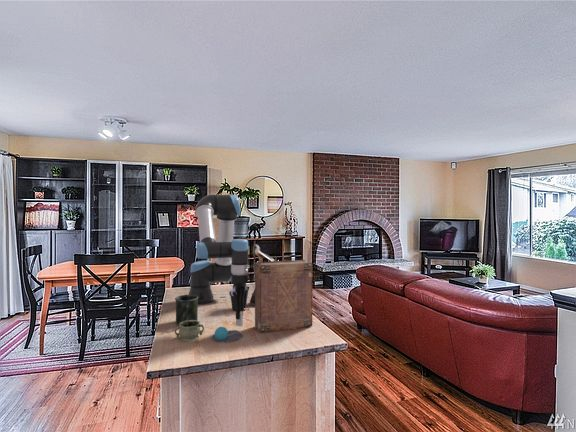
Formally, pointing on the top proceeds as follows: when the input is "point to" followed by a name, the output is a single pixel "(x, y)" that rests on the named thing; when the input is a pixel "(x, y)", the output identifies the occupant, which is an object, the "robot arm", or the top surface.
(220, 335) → the ball
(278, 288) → the book
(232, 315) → the top surface
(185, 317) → the mug
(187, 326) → the vessel
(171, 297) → the top surface
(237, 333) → the disc
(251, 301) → the bird statue
